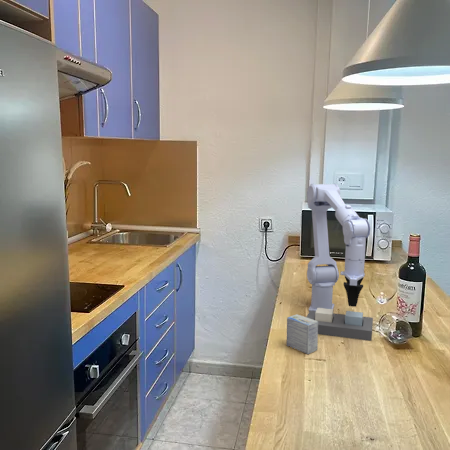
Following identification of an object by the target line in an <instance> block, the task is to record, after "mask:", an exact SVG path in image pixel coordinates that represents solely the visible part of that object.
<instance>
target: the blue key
mask: <svg viewBox="0 0 450 450" xmlns="http://www.w3.org/2000/svg"><path fill="white" fill-rule="evenodd" d="M344 315H345V324H348V325H356V326H362V322H363V317H364V312H361V311H360V312H359V311H353V310H352V311H351V310H346V311H345V314H344Z"/></svg>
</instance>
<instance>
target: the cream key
mask: <svg viewBox="0 0 450 450" xmlns="http://www.w3.org/2000/svg"><path fill="white" fill-rule="evenodd" d="M333 313H334V308H333V309H325V308H317V310H316V312H315V320H316V321H322V322H331V323H332V320H333Z"/></svg>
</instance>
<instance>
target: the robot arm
mask: <svg viewBox="0 0 450 450" xmlns="http://www.w3.org/2000/svg"><path fill="white" fill-rule="evenodd" d="M306 197H307V199H306V200H307V208H308V209H310V210H311V218H312V231H313V244H314V257H313V258H312V259H311V260H309V262H308V263H307V271H306V278H307V280H308V282H309V284H311V300H310V301H311V303H310V305H309V307H308V312H309V311H316V310H317V308H325V309H333V310H334V307H335V303H333V291H334V286H336V283H337V282H338V281H339V278H340V277H339V276H344V278H345V281H346V282H345V281H343V288H344V290H345V292H346V297H347V303H348V307H354V308H356V307H357V305H358V301H359V296H360V294H361V291H362V290H363V288H364V284H362V282H363V280H364V277H365V276H366V273H365V263H366V261H365V259H366V245H367V243H366V241H367V239H368V238H369V237H370V234H371V224H370V222H369V220H368V219H367V218H363V217H360V216H359V214H358V213H357V212H356V211H355V210H354V208H353V207H352V205H351V204H345V203H346V202H344V200H343V199H342V197H341V188H340V187H339V185H338V183H317V184H316V183H311V184H310V185H309V186H308V188H307V191H306ZM329 209H333V210H334V211H335V213H334V216H335V218H336V220H337V221H338V223H339V224H340V225H341V226H342V234H343V241H344V242H343V243H344V244H345V253H344V254H345V256H344V270H342V271H340V273H339V269H338V263H337V261H336V260H334V258H332V257H331V255H330V247H329V245H330V244H329V231H328V219H327V217H328V216H327V212H328V210H329Z"/></svg>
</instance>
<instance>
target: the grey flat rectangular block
mask: <svg viewBox="0 0 450 450" xmlns="http://www.w3.org/2000/svg"><path fill="white" fill-rule="evenodd" d="M315 312H316V311H309V310H308V313H307V315H306V317H307V318H310V319H313V320H315ZM345 315H346V314H344V313H335V312H333V320H332V323H331V322H322V321H318V335H323V336H330V337H336V338H337V337H339V338H344V339H345V338H347V339H354V340H361V341H370V342H372V338H373V336H372V335H373V324H374V323H373V322H374V317H370V316H363V322H362V326H356V325H348V324H345Z"/></svg>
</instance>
